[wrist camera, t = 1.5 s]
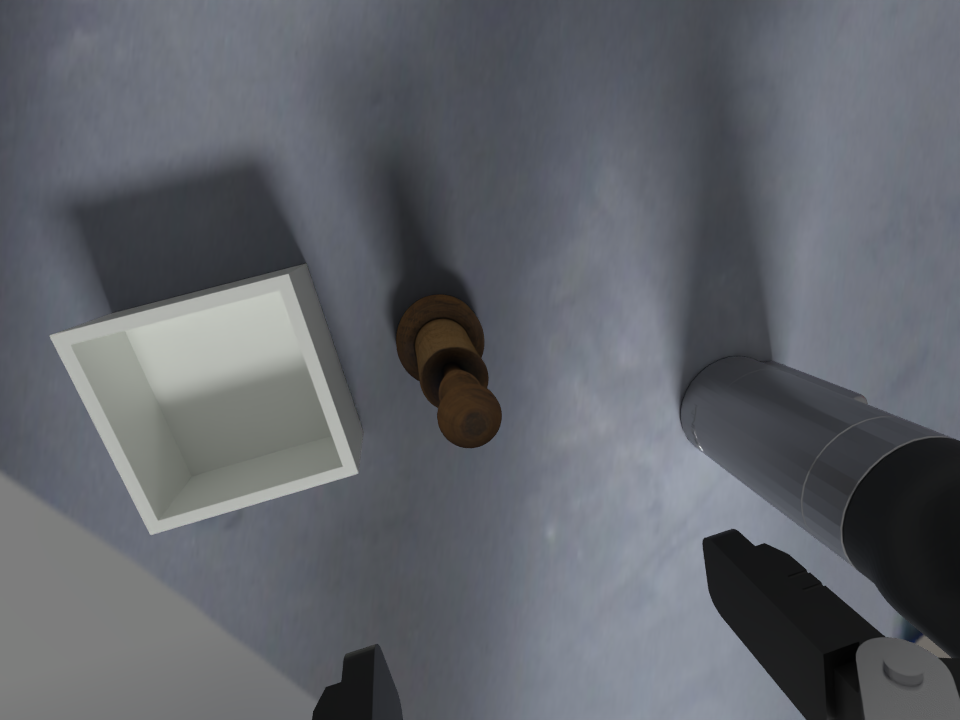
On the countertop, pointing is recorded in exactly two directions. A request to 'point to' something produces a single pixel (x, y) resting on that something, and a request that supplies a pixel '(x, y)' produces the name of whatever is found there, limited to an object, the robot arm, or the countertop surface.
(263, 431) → the box
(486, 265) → the countertop surface
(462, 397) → the mortar and pestle
